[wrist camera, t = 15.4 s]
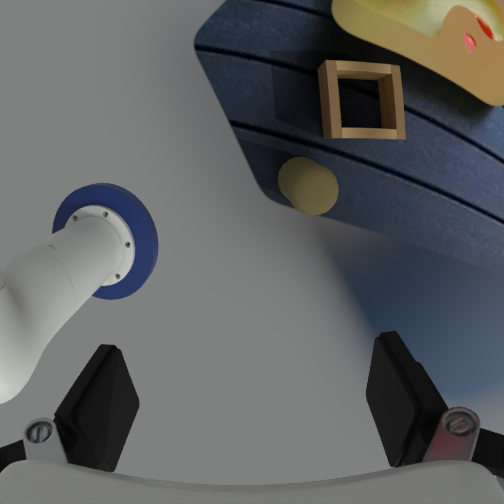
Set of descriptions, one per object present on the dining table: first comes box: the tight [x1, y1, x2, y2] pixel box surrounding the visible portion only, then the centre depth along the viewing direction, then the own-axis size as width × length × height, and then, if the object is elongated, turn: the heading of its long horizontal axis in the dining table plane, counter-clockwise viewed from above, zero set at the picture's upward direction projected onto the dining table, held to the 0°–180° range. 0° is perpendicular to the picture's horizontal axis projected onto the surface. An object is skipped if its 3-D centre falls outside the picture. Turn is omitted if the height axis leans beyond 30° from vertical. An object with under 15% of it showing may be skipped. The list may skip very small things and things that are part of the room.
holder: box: [318, 60, 406, 140], centre depth 34 cm, size 9×9×5 cm
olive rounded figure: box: [277, 157, 338, 215], centre depth 35 cm, size 6×6×11 cm
